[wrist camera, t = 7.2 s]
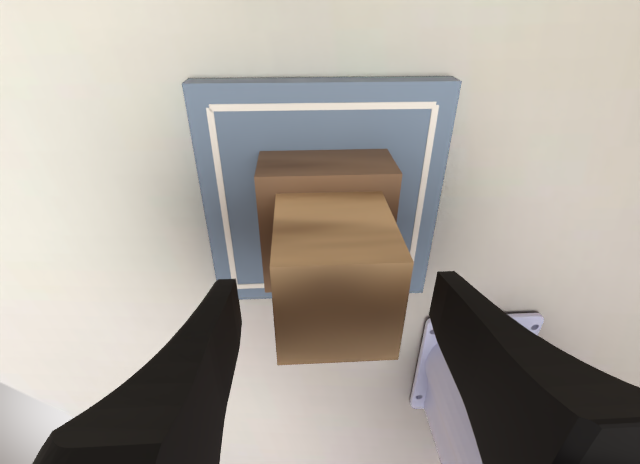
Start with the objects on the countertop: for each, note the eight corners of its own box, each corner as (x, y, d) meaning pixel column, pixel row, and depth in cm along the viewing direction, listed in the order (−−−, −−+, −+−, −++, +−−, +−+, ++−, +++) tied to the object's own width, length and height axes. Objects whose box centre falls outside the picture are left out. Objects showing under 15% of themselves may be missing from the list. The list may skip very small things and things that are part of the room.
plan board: (417, 279, 24) (438, 329, 21) (223, 286, 24) (210, 339, 20) (452, 76, 18) (491, 96, 14) (188, 78, 17) (161, 100, 14)
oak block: (373, 275, 18) (398, 359, 14) (281, 278, 18) (277, 365, 14) (381, 191, 16) (413, 262, 12) (275, 193, 16) (269, 267, 12)
